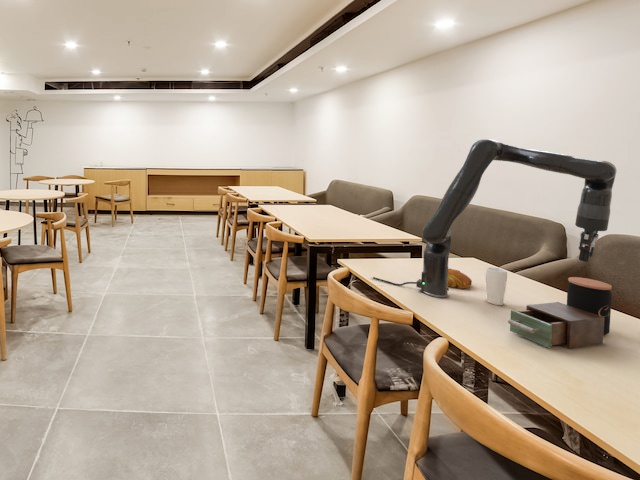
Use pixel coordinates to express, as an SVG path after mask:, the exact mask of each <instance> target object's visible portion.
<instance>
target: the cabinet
mask: <svg viewBox="0 0 640 480" xmlns="http://www.w3.org/2000/svg"><path fill="white" fill-rule="evenodd" d="M525 307H526V308H525V310H532V309H533V310H535V311H538V312H541V313H544V314H546V315H549V316H552V317H554V318H557V319H560V320H563V321H565V322H568V327H567V343H563V344H558V345H559V346H561V347H564V348H566V349H568V350H572V349H578V348H579V349H580V348H585V347H586V348H587V347H595V346H601V345H604V336H605V335H604V317H602V316H599V315H596V314H593V313H590V312H587V311H584V310H581V309H578V308H575V307H572V306H569V305H567V303H562V302H559V301H555V302H546V303H536V304H526V306H525Z"/></svg>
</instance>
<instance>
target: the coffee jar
mask: <svg viewBox="0 0 640 480" xmlns="http://www.w3.org/2000/svg"><path fill="white" fill-rule="evenodd" d="M567 281H568V284H567V289H566V291H567V292H566V293H567V294H566V305H569V306H572V307H575V308H578V309H581V310H584V311H587V312H590V313H593V314H596V315H599V316H602V317H604V335H603V336H606V335H608V334H610V331H611V315H612V314H611V313H612V312H611V311H612V297H613V296H612V292H611V290H612V288H613V286H612V285H611V284H609V283H607V282H605V281H604V282H603V281H601V280H596V279H592V278H587V277H580V276H579V277H578V276H570V277H568V278H567Z"/></svg>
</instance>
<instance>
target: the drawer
mask: <svg viewBox="0 0 640 480" xmlns="http://www.w3.org/2000/svg"><path fill="white" fill-rule="evenodd" d="M507 323H508V325H509V331H510V332H512V333H514V334H515V335H519V336H521V337H522V338H523V337H524V338H526V339H527V340H530V341H532V342H534V343H536V344H539V345H541V346H543V347H546V348H552V346H555V345H559V344H563V343H567V327H568V322H565V321H563V320H560V319H557V318H554V317H552V316H549V315H546V314H544V313H541V312H538V311H535V310H533V309H532V310H526V309H524V310H523V309H522V310H515V309H511V310H510V318H509V320H508V321H507Z"/></svg>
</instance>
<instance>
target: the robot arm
mask: <svg viewBox="0 0 640 480" xmlns="http://www.w3.org/2000/svg"><path fill="white" fill-rule="evenodd" d="M493 161H498V162H499V161H500V162H509V163H510V162H511V163H514V164H520V165H523V166H528V167H531V168H535V169H539V170H543V171H548V172H551V173H552V172H553V173H557V174H564V175H569V176H572V177H577V178H580V179H584V185H583V188H582V190H581V193H580V199H579V204H578V206H577V212H576V216H575V217H576V218H575V223H574V226H576V227H577V228H580V229H583V231H581V232H580V235H579V236H580V239H579V241H578V242H579V246H578V250H579V255H578V260H579V261H580V262H585V263H588V262H589V260H590V258H592V257H593V254H594V250H595V249H594V248H595V247H596V244H597V243H598V239H599V236H600V234H599V233H598V232H607V230H608V227H609V222H610V216H611V205H612V197H613V187H614V183H615V180H616V174H617V168H616V166H615V164H614V163H612V162H609V161H606V160H591V159H585V158H578V157H575V156H573V155H568V154H563V153H556V152H551V151H543V150H537V149H530V148H529V149H528V148H522V147H518V146H513V145H509V144H506V143H503V142H500V141H497V140H495V139H493V138H492V139H491V138H483V139H479V140H476V141H475V142H474V143H473V144H472V145H471V147H470V149H469V152H468V154H467V156H466V158H465V161H464V163H463V165H462V167H461V168H460V170H459V171H458V172H457V174H456V175H455V176H454V178H453V179H452V181H451V183H450V184H449V185H448V188H447V189H446V191H445V193H444V194H443V197H442V199H441V200H440V202H439V204H438V205H437V209H436V211H435V212H434V214H433V215H432V217H431V218H430V219H429V220H428V222H427V223H426V224H425V225H424V226H423V228H422V231H421V234H422V238H423V239H424V241H425V242H426V245H425V247H424V249H423V260H422V261H423V264H422V271H421V278H419V279H417V280H416V281H406V282H405V281H404V282H402V283H395V282H392V281H388V280H385V279H381V278H378V277H375V276H373V277H372V279H374V280H378V281H381V282H384V283H387V284H390V285H393V286H399V287H400V286H401V287H402V286H404V285H410V284H411V285H413V284H414V285H416V288H419V289H420V293H423V294H425V295H427V296H431V297H435V298H448V292H449V291H450V288H449V286H448V268H449V257H450V253H451V248H452V247H451V245H452V231H451V229H450V228H451V226H452V224H453V223H454V221H455V220H456V219H457V218H458V217H459V216H460V215H461V214H462V213H463V211H464V210H465V209H466V208H467V207H468V206H469V204H470V203H472V200H473V198H474V197H475V196H476V193H477V191H478V190H479V186H480V184H481V180H482V177H483V175H484V173H485V171H486V170H487V169H488V167H489V166H490V164H491V163H493Z"/></svg>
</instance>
